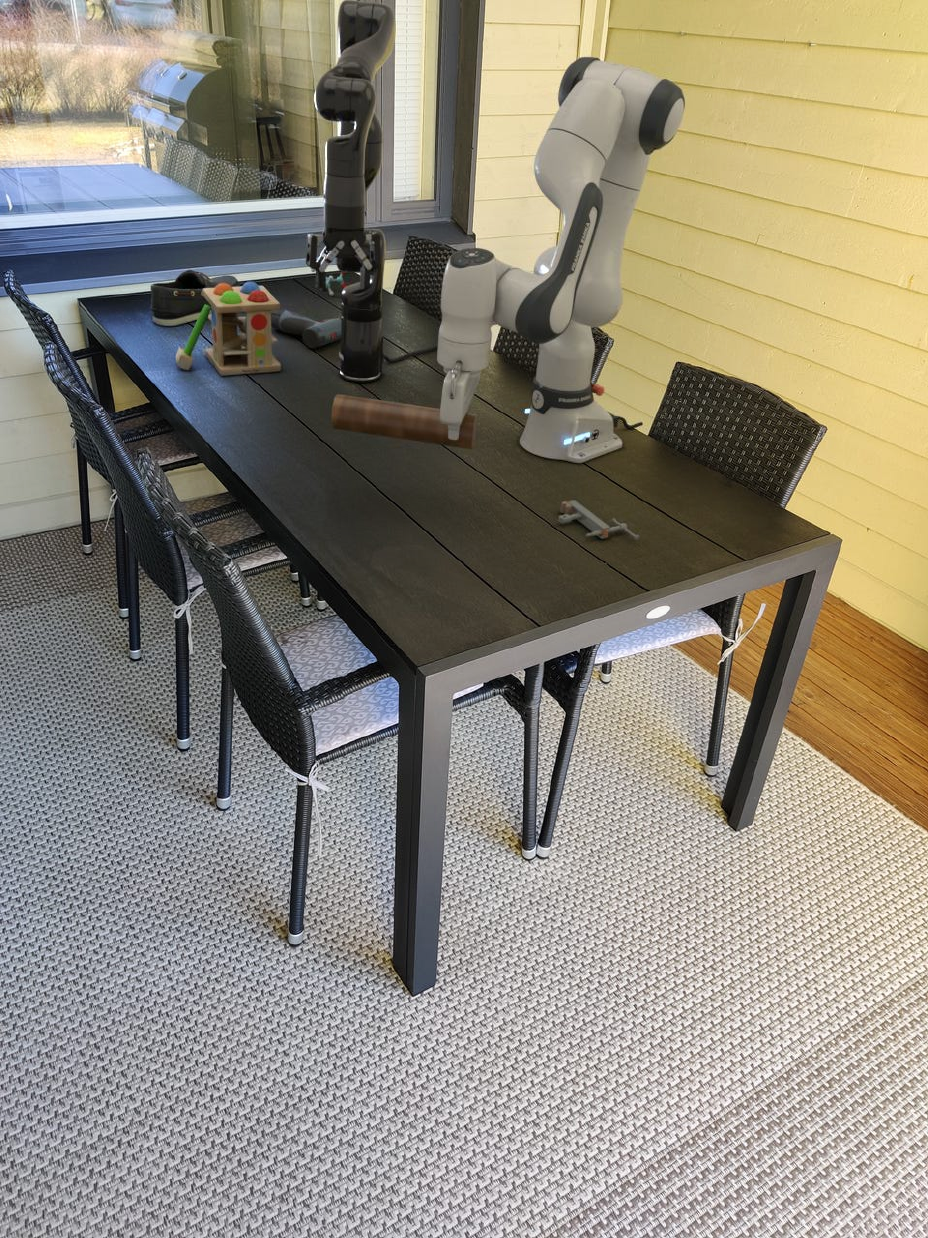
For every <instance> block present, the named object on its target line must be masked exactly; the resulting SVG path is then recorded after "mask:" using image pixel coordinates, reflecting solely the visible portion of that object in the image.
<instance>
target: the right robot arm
mask: <svg viewBox="0 0 928 1238" xmlns="http://www.w3.org/2000/svg"><path fill="white" fill-rule="evenodd" d="M557 102H558V107H559V108H558V110H557V111H556V113H555V115H554V116H553V118H552V121H551V122H550V124H549V125H548V128H547V130H546V131H545V134H544V136H543V138H542V140H541V142H540V144H539V147H538V148H537V151H536V154H535V157H534V162H533V172H534V179H535V181H536V184H537V185H538V188H539V190H540V191H541V192H542V194H543V196H544V197H546V198H547V200H548V201H549V202H551V203H552V204H553V205H554V207H556V208H557V209H558V210H559V211H560V212H561V215H562V219H563V221H562V223H563V224H562V229H561V233H560V236H559V238H558V241H557V244H556V246H551V247H548V248H547V249H545V250H544V251H542V252H541V253H540V254H539V256H538V257H537V259H536V261H535V263H534V266H533V272H530V271H527V270H523V269H522V268H519V267H516V266H513V265H509V264H507V263H505V262H503V261H501V260H499V259H498V258H496V256H495V254H494V253H493V252H492V251H490V250H488V249H486V248H481V247H467V248H462V249H459V250H457V251H455V252H453V253H452V254H451V255H450V256H449V258H448V260H447V263H446V265H445V268H444V273H443V278H442V283H441V284H442V285H441V294H440V312H441V322H440V326H439V329H438V335H437V336H438V337H437V344H438V348H437V349H436V350H437V352H436V361H437V363H438V364H439V366H442V367H443V372H444V373H445V374H446V375H445V377H444V380H443V384H442V390H441V397H440V408H439V409H440V422H441V423H442V424H446V425H448V438H449V439H451V440H458V438H459V435H460V425H461V423H462V421H463V418H464V416H465V414H466V413H468V410H469V407H470V404H471V402H472V399H473V397H474V395H475V393H476V390H477V388H478V386H479V382H480V379H481V374H482V370H485V369H486V368H488V367H489V366H490V362H491V361H490V360H491V349H492V340H493V332H492V327H494V326H496V325H497V326H499V327H501V328H503V329H506V330H509V331H511V332H514V333H517V334H519V335H520V336H522V337H524V338H526V339H527V340H529V341H532V342H533V343H535V344H538V345H539V347H538V356H537V364H536V372H535V373H536V374H535V376H534V377H533V381H532V386H531V393H530V395H531V396H530V397H531V399H530V400H531V401H530V402H531V405H530V407H529V408H526V409H524V414H528V416H527V419H526V422H525V426H524V428H523V432H522V434H521V436H520V438H519V444H520V446H521V447H522V448H523V449H524V450H525V451H527V452H528V453H531V454H532V455H536V456H539V457H542V458H546V459H551V460H560V461H561V460H562V461H567V462H570V463H575V464H582V463H586V462H587V461H590V460H593V459H595V458H598V457H601V456H603V455H606V454H608V453H612V452H614V451H617V450H618V449H621V448H622V447H623V441H622V439H621V438H620V437H619V436H618V434H616V433H615V432H614V429H615V428H617V427H618V423H619V421H621V422H622V424H623V426H624V428H625V429H627V430H633V429H636V428H638V427H639V428H640V427H642V426H643V424H644V422H642V421H640V422H636V423H634V424H631V425H630V424H628V422H627V420H626V418H625V417H623V416H620V415H615V414H613V413H611V412H609V411H608V410H606V409H605V408H604V407H603V406H602V405H601V404H600V403H598V402H597V400H596V399H595V398H594V394H595V395H596V396H597V397H602V396H603V395H604V393H605V387H604V386H602V385H600V384H599V383H594V384H593V382H592V381H591V378H592V377H591V376H592V371H593V364H594V359H595V352H596V344H595V340H594V337H593V332H592V328H600V327H604V326H606V325H607V324H610V322H612V321H613V320H614V319H615V318H617V316H618V314H619V313H620V311H621V309H622V305H623V301H624V293H623V289H622V284H621V271H622V263H623V262H622V261H623V253H624V252H623V251H624V248H625V247H624V246H625V240H626V236H627V232H628V228H629V225H630V222H631V219H632V216H633V213H634V210H635V208H636V205H637V203H638V199H639V196H640V194H641V190H642V187H643V184H644V181H645V178H646V175H647V171H648V167H649V164H650V163H649V162H650V159H651V155H652V154H654V152H655V151H659V150H661V149H662V148H664V147H665V146H667V145H668V144H669V143H671V142H672V140H673V139H674V138H675V135H676V134H677V132H678V130H679V128H680V127H681V124H682V121H683V118H684V112H685V107H686V101H685V96H684V92H683V89H682V88H681V87H680V86H678V84H675V83H674V82H672V81H671V80H669V79H668V78H663V79H662V78H660V77H658V76H656V75H654V74H653V73H651V72H648V71H646V70H643V69H641V68H637V67H635V66H626V65H625V64H620V63H616V62H611V61H607V60H606V61H605V60H601V59H600V58H599V57H595V56H581V57H579V58H576V59H575V60H574V61H573V62H571V63H570V64H569V65H568V67H567V68H566V70H565V71H564V73H563V75H562V78H561V81H560V84H559V87H558V93H557ZM631 428H632V429H631Z"/></svg>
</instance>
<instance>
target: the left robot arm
mask: <svg viewBox="0 0 928 1238" xmlns="http://www.w3.org/2000/svg"><path fill="white" fill-rule="evenodd" d="M337 14H338V15H337V53H338V59H337V62H336V65H335V66H333V67H332V68H330V69H328V71H326V72H325V73H324V74H323V75H322V76H321V77H320V78H319V80H318V81H317V82H318V83H317V85H316V87H315V90H314V106H315V109H316V111H317V113H318V114H319V116H320V117H321V118H322V119H324V120H326V121H329V122H336V123H338V128H337V129H338V131H337V135H336V136H331V137H329V138H327V140H326V142H325V149H324V150H325V155H324V156H325V162H324V163H325V164H324V166H325V167H324V168H325V171H324V172H325V175H324V181H323V194H322V195H323V196H322V197H323V231H322V234H314V233H313V232H308V233H307V234H306V247H305V248H306V249H305V264H306V266H308V267H309V268H310V270H311V269H315V270H316V271H315V287H316V286H317V287H318V288H317V287H316V288H317V289H318V290H319V291H320V292H322V293H323V292H326V291H327V288H326V277H327V272H326V270H327V268H328V266H329V265H330V264H332V263H333V261H334V260H335V264H336V268H337V269H338V271H339V272H344V273H354V274H359V281H358V282H355V283H352V284H349V285H346V286H347V287H345V288H343V289H342V290H341V307H340V308H341V310H340V311H341V312H340V314H341V315H340V318H341V338H340V351H338V357H339V358H340V369H339V376H340V377H341V378H342V380H345V381H348V382H352V383H359V384H360V383H361V384H364V383H365V384H366V383H367V384H369V383H373V382H376V381H378V380H380V378H381V375H382V374H383V364H384V362H385V361H386V362H387V363H390V364H394V363H398V362H401V361H403V360H405V359H408V358H411V357H415V356H418V355H422V354H427V353H429V352H432V351H434V350H438V343H436V344H434V345H433V346H430V347H427V348H424V349H419V350H415V351H411V352H407V353H405V354H403V355H400V356H398V357H395V358H390V357H389V356H388V355H387V354H385V352H384V335H383V334H382V323H383V292H384V291H383V288H384V273H385V272H384V271H385V264H386V263H385V262H386V251H387V250H386V249H387V247H386V244H387V243H386V237H385V234H384V232H383V231H382V230H381V229H378V228H365V217H366V215H365V214H366V193H367V192H368V190H369V188H370V187H371V186H372V185H373V183H374V181H375V180H376V178H377V177H378V175H379V173H380V170H381V168H382V166H383V165H382V164H383V144H384V132H383V126H382V124H381V121H380V119H379V117H378V115H377V113H376V112H375V111H376V106H377V99H378V98H377V92H376V89H375V87H374V85H373V83H374V81H375V77H376V74H377V73H378V71H379V70H380V69H381V67H383V65H384V64H385V63H386V61H387V60H388V59H389V57H390V56H391V54H392V53H393V50H394V46H395V41H396V32H397V31H396V29H397V27H396V26H397V23H396V15H395V11H394V9H392V7H391V6H390V5H388V4H386V3H382V2H375V1H363V0H342V1H341V3H340V5H339V8H338V13H337ZM321 243H323V245H324V246H325V247H324V248H323V250H322V251H321V253H320V256H319V257H317V256H318V248H319V247H320V245H321ZM317 258H318V259H317Z"/></svg>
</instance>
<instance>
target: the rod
mask: <svg viewBox="0 0 928 1238" xmlns="http://www.w3.org/2000/svg"><path fill="white" fill-rule="evenodd" d="M330 420H331V427H332V429H333V430H339V431H346V432H353V433H358V434H359V433H360V434H364V435H365V434H366V435H373V436H380V437H384V438H385V437H386V438H393V439H399V440H406V441H413V442H419V443H427V444H433V445H440V446H447V447H452V448H459V449H465V450H466V449H467V450H473V449H474V448H475V447H474V446H475V443H476V438H477V433H478V422H479V415H478V414H476V413H471V412H467V413H466V414H465V416H464V418H463V421H462V423H461V425H460V435H459V438H458V440H451V439H449V438H448V425H446V424H442V423H441V422H440V408H437V407H436V408H435V407H429V406H423V405H416V404H408V403H402V402H395V401H387V400H382V399H381V400H380V399H376V398H375V399H374V398H368V397H363V396H362V397H360V396H356V395H355V396H354V395H347V394H341V393H337V394H336V395H335V397H334V399H333V403H332V407H331V419H330Z"/></svg>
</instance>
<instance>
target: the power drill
mask: <svg viewBox="0 0 928 1238" xmlns="http://www.w3.org/2000/svg"><path fill="white" fill-rule="evenodd" d="M271 328H274V329H276V330H278V331H281V332H284V333H288V334H290V335H296V336H300V337H302V341H303V343H304V344H305V346H306V347H308V348H309V349H316V348H319V347H322V346H325V345H328V344H330V343H333V342H336V341H338V340H341V317H338V318H331V319H324V320H322V321H320V322H319V321H316V320H314V319H312V318H309V317H306V316H304V315H302V314H300V313H297V312H293V311H291V310H288V309H283V308H280V310H271Z"/></svg>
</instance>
